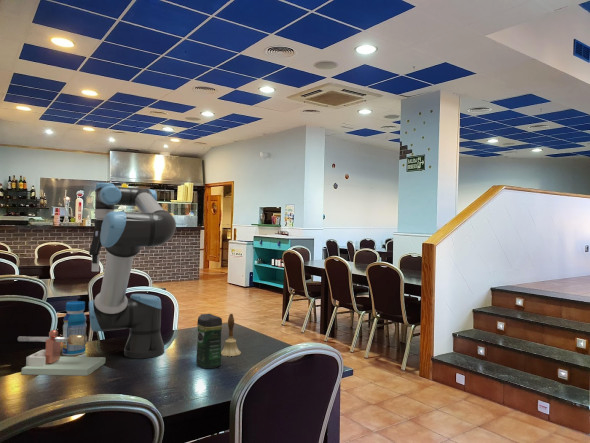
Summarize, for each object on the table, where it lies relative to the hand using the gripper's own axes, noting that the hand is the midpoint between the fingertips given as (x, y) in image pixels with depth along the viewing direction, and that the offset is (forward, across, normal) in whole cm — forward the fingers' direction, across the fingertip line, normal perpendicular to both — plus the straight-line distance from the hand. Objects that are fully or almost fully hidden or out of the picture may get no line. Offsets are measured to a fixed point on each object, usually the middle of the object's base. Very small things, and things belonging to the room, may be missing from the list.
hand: (102, 269), depth 182 cm
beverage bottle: (+32, +12, -5) cm, 34 cm away
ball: (+28, +30, -7) cm, 41 cm away
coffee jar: (+32, +23, +50) cm, 64 cm away
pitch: (+32, +30, +1) cm, 44 cm away
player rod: (+29, +30, -4) cm, 42 cm away
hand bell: (+32, +8, +56) cm, 65 cm away
